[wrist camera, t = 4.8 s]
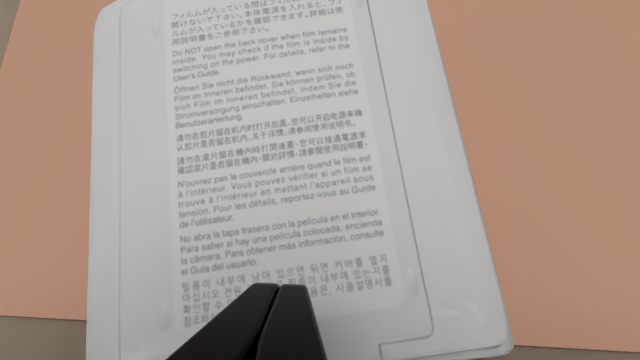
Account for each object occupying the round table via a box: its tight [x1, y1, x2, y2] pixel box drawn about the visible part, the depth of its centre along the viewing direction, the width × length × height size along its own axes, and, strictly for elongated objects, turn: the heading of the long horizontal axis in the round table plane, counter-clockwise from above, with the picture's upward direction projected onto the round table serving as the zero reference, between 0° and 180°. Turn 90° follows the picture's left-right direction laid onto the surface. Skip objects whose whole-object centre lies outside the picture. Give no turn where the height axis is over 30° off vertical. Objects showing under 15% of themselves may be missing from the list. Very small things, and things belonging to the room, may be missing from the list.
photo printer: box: [86, 0, 514, 360], centre depth 14 cm, size 10×4×12 cm
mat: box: [0, 0, 640, 352], centre depth 18 cm, size 20×26×1 cm
